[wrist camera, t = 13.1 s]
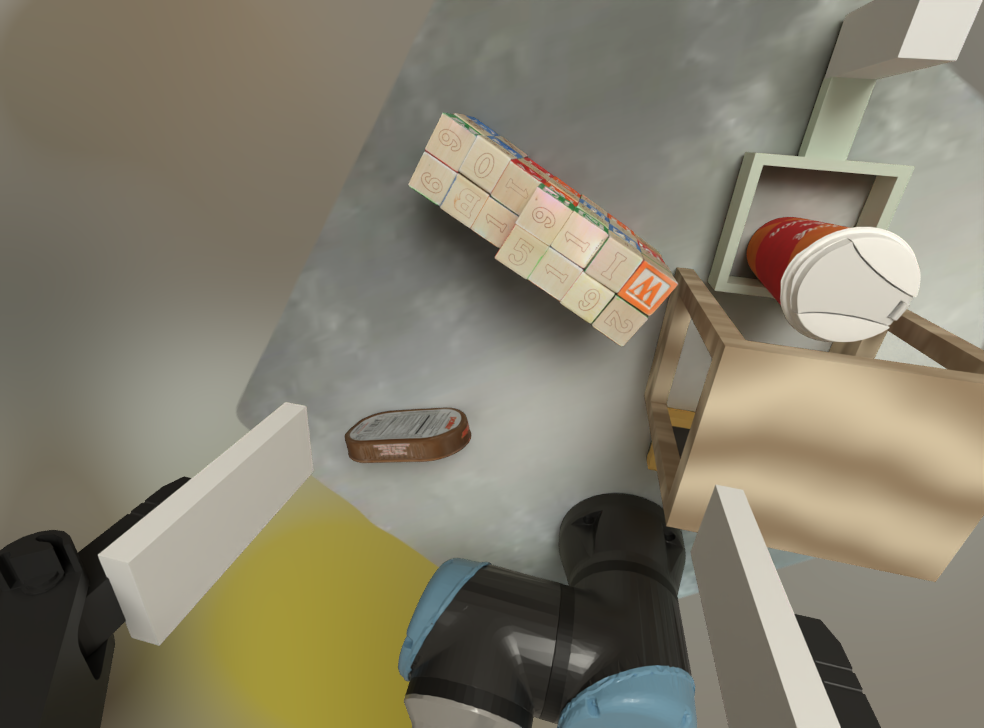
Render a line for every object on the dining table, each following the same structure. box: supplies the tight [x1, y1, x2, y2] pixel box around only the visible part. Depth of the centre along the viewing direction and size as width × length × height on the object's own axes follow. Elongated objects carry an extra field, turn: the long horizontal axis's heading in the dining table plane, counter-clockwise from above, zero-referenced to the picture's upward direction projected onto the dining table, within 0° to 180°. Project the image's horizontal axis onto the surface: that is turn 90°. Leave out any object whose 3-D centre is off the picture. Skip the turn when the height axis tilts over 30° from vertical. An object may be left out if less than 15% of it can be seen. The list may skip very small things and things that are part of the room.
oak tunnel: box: [644, 267, 984, 582], centre depth 37 cm, size 14×17×20 cm
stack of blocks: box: [408, 113, 678, 346], centre depth 39 cm, size 21×6×12 cm, turn 58°
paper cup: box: [747, 217, 920, 342], centre depth 35 cm, size 8×8×14 cm
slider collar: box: [708, 0, 983, 298], centre depth 34 cm, size 20×11×10 cm, turn 176°
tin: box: [345, 408, 471, 463], centre depth 54 cm, size 15×3×8 cm, turn 101°
